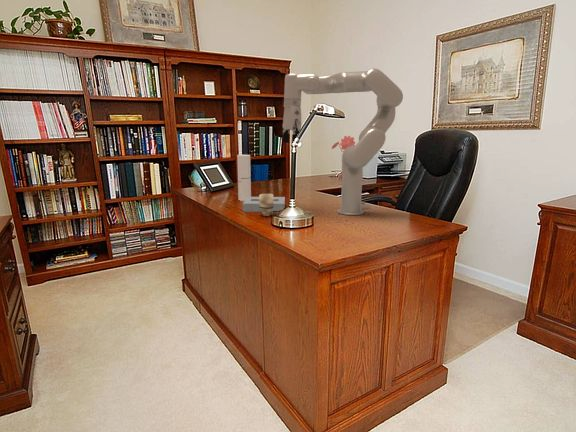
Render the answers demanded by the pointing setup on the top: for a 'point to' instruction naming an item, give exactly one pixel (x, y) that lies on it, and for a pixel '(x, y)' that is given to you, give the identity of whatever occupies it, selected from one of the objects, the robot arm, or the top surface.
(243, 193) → the grey square post
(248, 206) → the mortise board
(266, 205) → the birch peg
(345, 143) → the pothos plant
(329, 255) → the top surface
